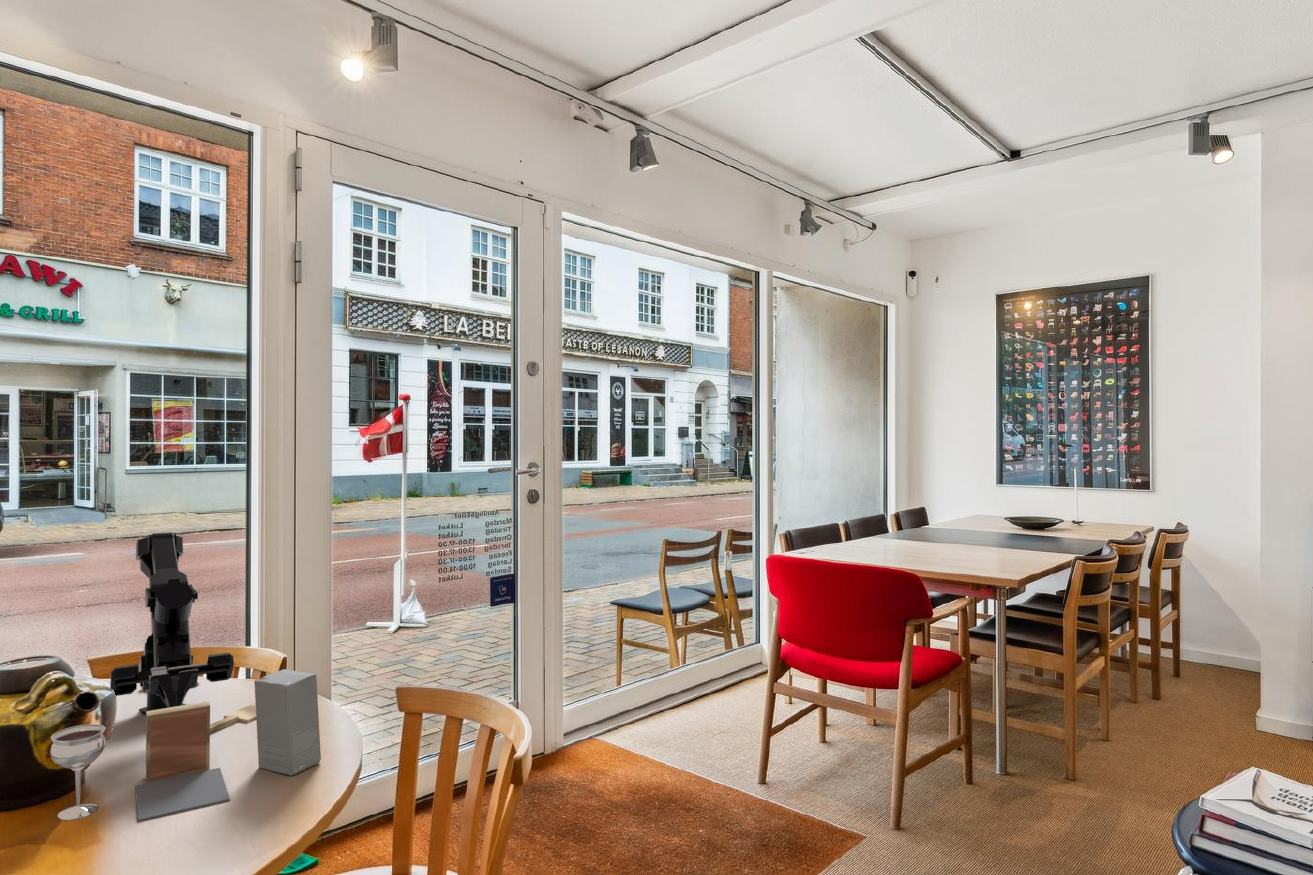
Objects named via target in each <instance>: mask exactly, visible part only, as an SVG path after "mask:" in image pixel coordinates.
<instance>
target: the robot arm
mask: <svg viewBox="0 0 1313 875" xmlns="http://www.w3.org/2000/svg"><path fill="white" fill-rule="evenodd" d="M183 554H184V539H183V536H179V535H177V533H173V531H170V532H157V533H156V532H155V533H151V534H148V535H147V536H145V537H143V538H140V539H138V540H136V545H135V559H136V560H137V561H139V568H140V571H141V573H142V574H144V575H145V576H146V577H147V578H148V579H149V580H148V581H149V584H148V588H147V587H146V588H145V590H144V591H145V593H144V602H145V604H144V605H145V608H149V613H150V620H151V621H150V625H151V634H150V635H148V636H147V638H146V642H145V643H144V647H143V648H144V649H143V654H141V655H140V656H139V664H138V663H137V664H127V665H119V666H114V667H113V668H112V669H111V671H110V682H109V685H110V686H109V689H110V688H111V689H113V690H114V692H115V695H116V696H115V697H118V696H124V695H132V694H133V693H134V692H135V691H136V690H137V688H138V687H137V685H138V684H139V687H141V686H143V690H147V691H146V706H144V707H141V708H139V709H138V712H139V713H142V714H145V715H146V711H152V710H158V709H164V708H170V707H176V706H182V705H187V704H186V703H184V700H185V698H186V696H187V694H188V693H189V690H190V689H195V688H196V687H197V686H198V685H197V682H198V680H199V679H198V678H199V675H206V676H205V677H206V678H205V679H206V680H207V681H209V682H211V683H215V682H223V681H228V680H229V679H231V678H232V675H233V674H232V673H233V671H234V664H235V662H234V655H233V654H232V653H230V652H222V653H216V654H215V653H214V654H208V657H207V662H202V663H193V662H194V655H192V652H191V650H192V649H191V639H190V624H189V623H190V621H189V619H190V616H191V614H192V613H191V612H192V606H193V604H194V603H195V602H196V601H195V600H198V598H199V597H198V595H199V594H198V591H197V590H196V589H195V587H193V586H194V585H192V584H191V583H190V584H189V581H188V575H187V574H186V573H184V572H182V571H179V570H180V569H179V559H180V558H182V556H184V555H183ZM196 685H197V686H196ZM141 688H142V687H141ZM143 690H142V691H143Z"/></svg>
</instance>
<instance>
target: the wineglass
mask: <svg viewBox="0 0 1313 875" xmlns="http://www.w3.org/2000/svg"><path fill="white" fill-rule="evenodd" d="M105 731H106V726H104V725H103V724H94V723H93V724H92V723H90V724H80V725H74V726H71V727H66V728H64V729H60V730H58V731H56V732H55V733H53V734H52V735H51V736H50V739H51V741H52V745H51V747H50V751H49V752H50V757H51V759H52V761H53V763H55V764H57V765H58V766H60V767H62V768H65V769H70V770H72V771H73V772H74V774H75V776H74V777H75V779H74V780H75V795H76V796H75V797H76V805H73V806H69V807H67V808H65V809H63V810H61V811H60V812H59V813H57V818H58V817H59V818H58V819H60V820H62V821H63V820H64V821H67V820H68V821H71V820H77V819H81V818H84V817H87V816H89V815H91V814H94V813H95V812H96V811H97V810H98V809H99V805H98V804H96V803H90V802H89V803H81V788H82V786H81V785H82V784H81V783H82V770H84V769H85V768H86V767H87V766H88V765H90V764H92V763H94V762H95V761H96V760H97V759H98V758H99V757H100V756H101V755H102V754H103V752H104V750H105V748H106V745H107V744H106V737H105V736H106V735H104V732H105Z"/></svg>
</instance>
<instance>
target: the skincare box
mask: <svg viewBox="0 0 1313 875" xmlns="http://www.w3.org/2000/svg"><path fill="white" fill-rule="evenodd" d="M253 683H254V695H255V696H254V697H255V700H254V701H255V702H254V703H256V719H255V720H256V721H255V722H256V736H257V737H256V738H257V755H258V768H259V769H264V770H268V771H271V772H275V773H279V774H280V773H281V774H284V775H287V776H291V777H292V776H294V775H296V774H298V773H300V772H302V771H304V770H306V769H308V768H311V767H312V766H314V765H317V764H319V763H321V760H322V756H321V739H320V738H321V737H320V723H319V722H320V721H319V720H320V716H319V702H318V700H319V699H318V698H319V697H318V682H317V674H316V673H312V672H305V671H304V672H303V671H297V670H292V669H286V668H284V669H280V670H278V671H276V672H273V673H271V674H270V673H269V674H268V675H265V676H262V677H260V678H257V679H254V682H253Z"/></svg>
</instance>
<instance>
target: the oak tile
mask: <svg viewBox="0 0 1313 875" xmlns="http://www.w3.org/2000/svg"><path fill="white" fill-rule="evenodd" d="M145 715H146V716H145V718H146V719H145V721H146V722H145V723H146V724H145V725H146V726H145V783H148V782H152V781H157V780H162V779H167V778H172V777H177V776H181V775H186V774H191V773H196V772H201V771H206V770H210V769H211V768H210V760H211V759H210V757H211V756H210V755H211V754H210V753H211V746H210V744H211V741H210V740H211V733H210V724H211V705H210V701H209V700H207V701H201V702H195V703H190V704H186V705H182V706H176V707H170V708H164V709H158V710H152V711H146V714H145Z"/></svg>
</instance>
